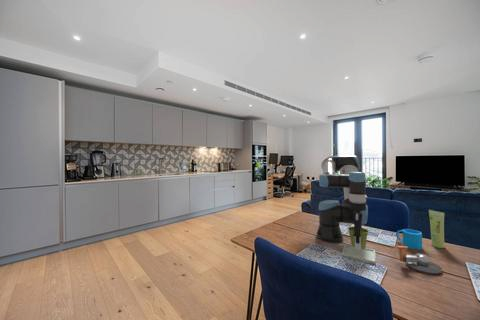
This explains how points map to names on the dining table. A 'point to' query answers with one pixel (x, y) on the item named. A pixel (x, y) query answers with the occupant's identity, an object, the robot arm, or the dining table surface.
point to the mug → (411, 238)
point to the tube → (437, 228)
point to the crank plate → (425, 268)
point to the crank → (413, 257)
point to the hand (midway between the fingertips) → (358, 245)
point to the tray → (359, 254)
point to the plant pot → (363, 234)
